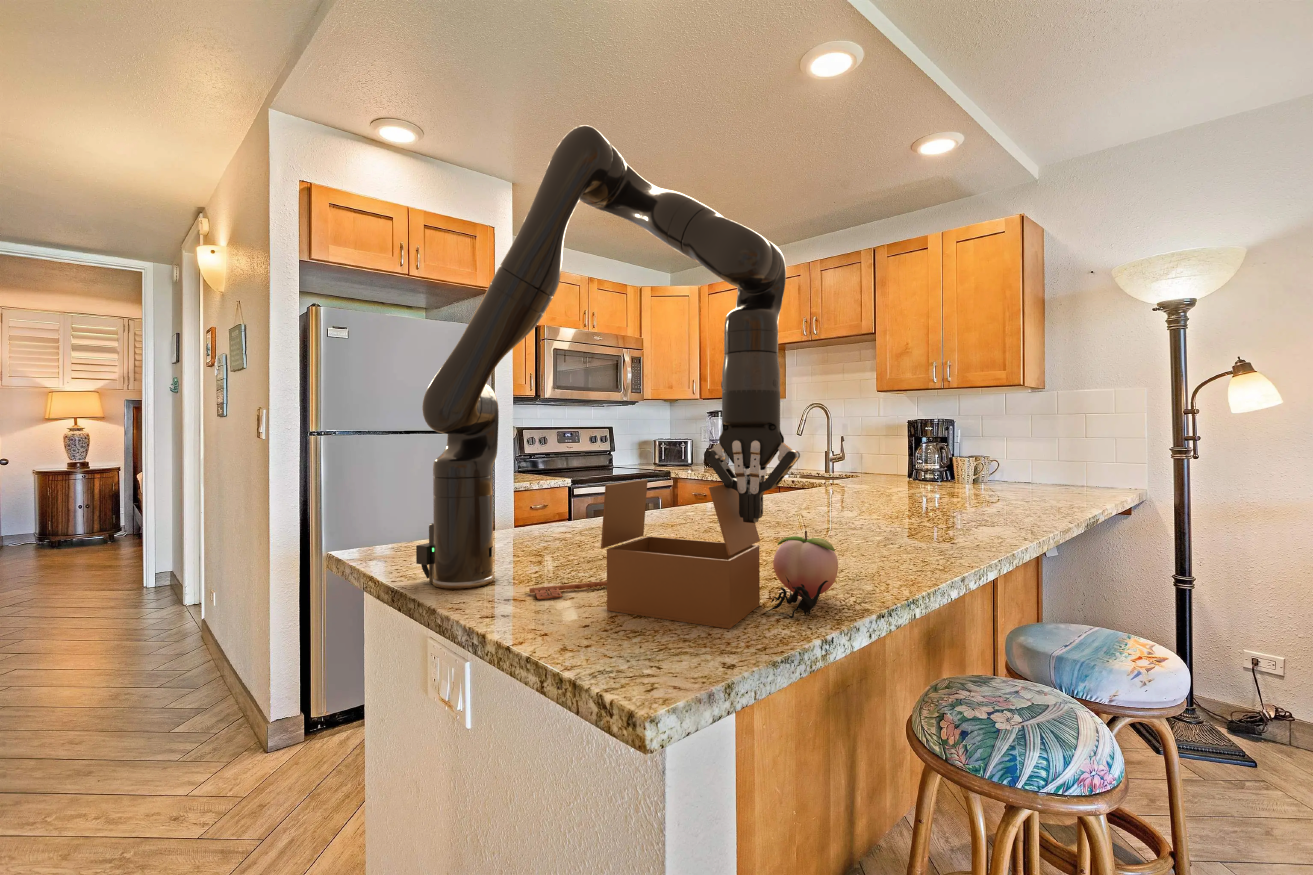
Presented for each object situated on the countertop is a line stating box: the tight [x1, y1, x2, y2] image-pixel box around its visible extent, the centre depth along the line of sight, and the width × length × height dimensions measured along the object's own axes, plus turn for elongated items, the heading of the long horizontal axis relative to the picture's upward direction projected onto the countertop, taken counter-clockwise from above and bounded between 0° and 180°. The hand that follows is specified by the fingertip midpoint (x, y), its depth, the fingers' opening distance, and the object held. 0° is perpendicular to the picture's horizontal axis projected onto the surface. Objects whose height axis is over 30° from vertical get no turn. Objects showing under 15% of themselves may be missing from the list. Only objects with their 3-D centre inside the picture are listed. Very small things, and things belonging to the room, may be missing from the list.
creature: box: [764, 577, 828, 619], centre depth 82 cm, size 8×5×8 cm
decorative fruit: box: [772, 530, 839, 599], centre depth 89 cm, size 9×8×10 cm
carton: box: [600, 478, 761, 630], centre depth 85 cm, size 19×12×17 cm, turn 63°
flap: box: [708, 483, 761, 556], centre depth 82 cm, size 9×12×1 cm
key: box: [528, 579, 607, 600], centre depth 94 cm, size 6×1×15 cm
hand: (750, 521), depth 81 cm, fingers closed
